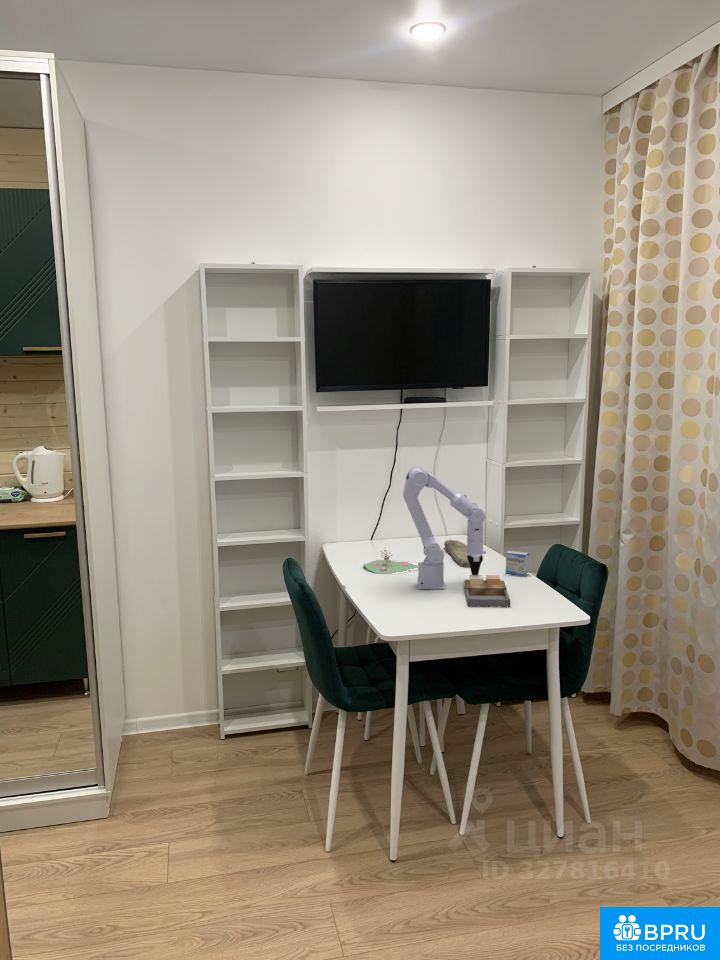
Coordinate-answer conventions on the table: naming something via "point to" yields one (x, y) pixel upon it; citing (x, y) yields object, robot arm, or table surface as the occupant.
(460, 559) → the elongated rock
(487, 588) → the walnut board
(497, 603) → the bin
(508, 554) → the medicine box
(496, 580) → the terracotta tile
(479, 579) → the cream tile
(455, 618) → the table surface
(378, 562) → the plant
